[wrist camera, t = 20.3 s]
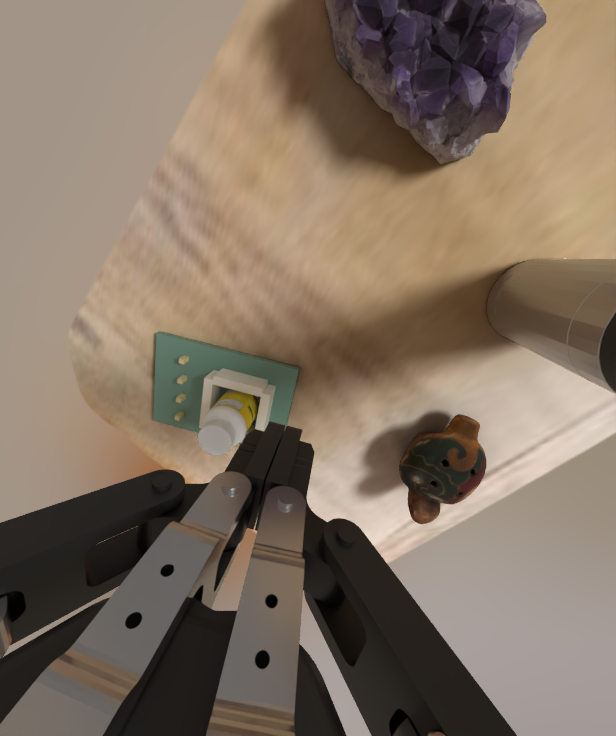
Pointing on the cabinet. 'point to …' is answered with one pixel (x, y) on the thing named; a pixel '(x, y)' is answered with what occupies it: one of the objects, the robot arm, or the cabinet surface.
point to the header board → (216, 382)
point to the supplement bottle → (228, 422)
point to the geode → (436, 63)
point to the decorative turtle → (442, 468)
